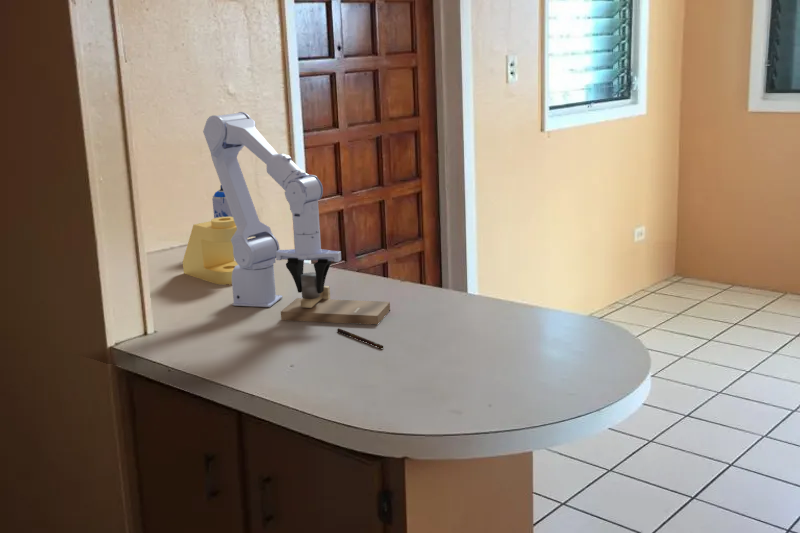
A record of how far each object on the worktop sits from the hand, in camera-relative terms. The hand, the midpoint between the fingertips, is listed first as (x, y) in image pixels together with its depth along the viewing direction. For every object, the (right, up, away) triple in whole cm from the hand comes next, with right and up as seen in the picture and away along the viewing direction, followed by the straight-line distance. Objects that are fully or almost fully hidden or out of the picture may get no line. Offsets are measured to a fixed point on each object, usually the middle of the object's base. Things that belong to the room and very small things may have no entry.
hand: (310, 291), depth 190 cm
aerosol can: (-30, +9, +60) cm, 68 cm away
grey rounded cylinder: (0, -4, +2) cm, 4 cm away
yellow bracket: (-28, +3, +35) cm, 45 cm away
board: (+6, -5, -1) cm, 8 cm away
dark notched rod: (+12, -10, -17) cm, 23 cm away
